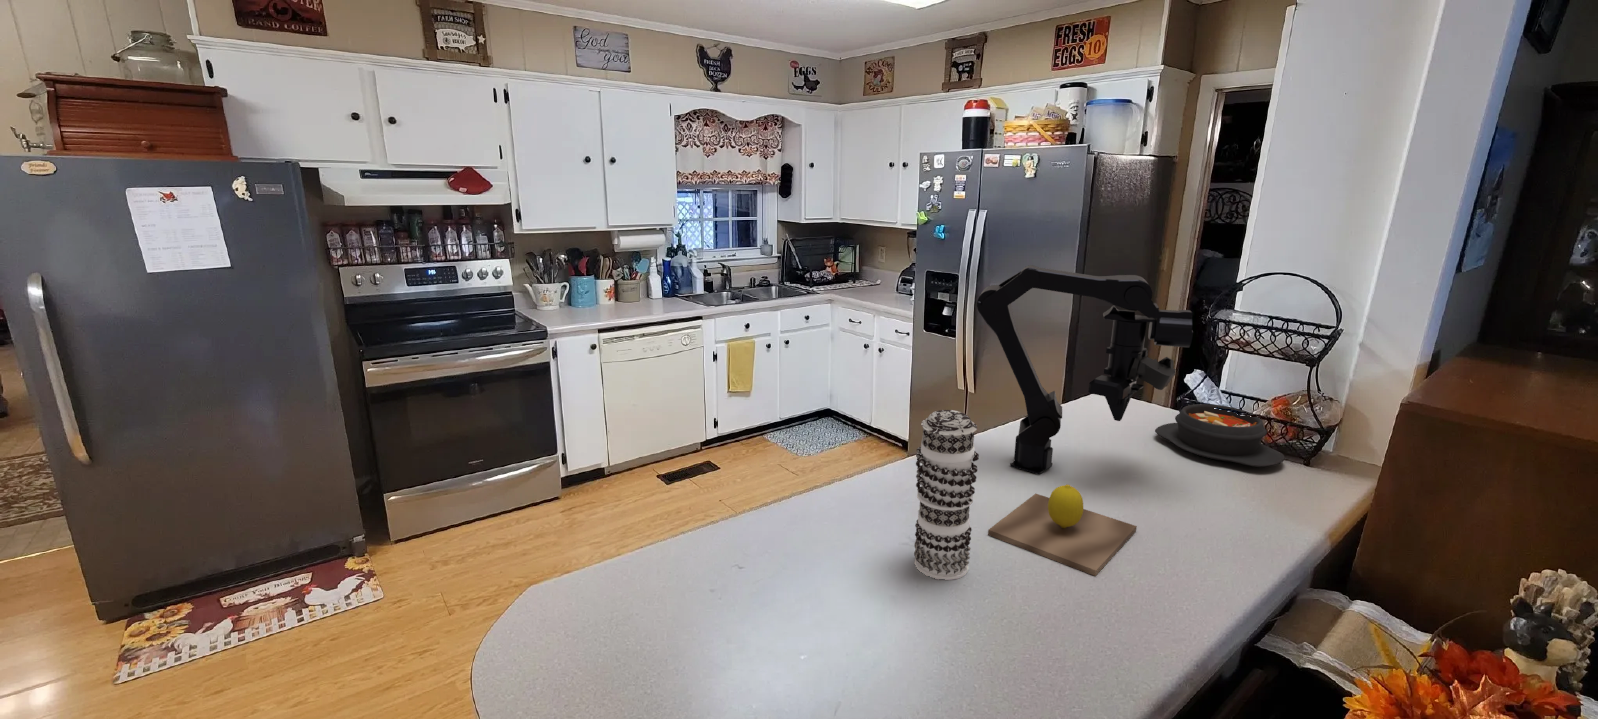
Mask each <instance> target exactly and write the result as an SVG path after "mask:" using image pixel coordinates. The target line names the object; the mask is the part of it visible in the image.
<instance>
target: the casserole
mask: <svg viewBox="0 0 1598 719" xmlns="http://www.w3.org/2000/svg"><path fill="white" fill-rule="evenodd" d="M1216 407H1218V408H1223V409H1231V410H1237V411H1241V412H1246V413H1248V414H1250V415H1253V414H1254V413H1253V412H1249V411H1246V410H1243V409H1240V408H1235V407H1232V406H1225V405H1220V404H1209V403H1208V404H1207V403H1199V404H1189V405H1186V406H1184V407H1182V409H1180V412H1178V414H1176V415H1175V416H1174V420H1175V422H1170V423H1165V424H1161V425H1159V426H1158V427H1156V428H1155V429H1154V432H1155V434H1156V435H1158V436H1159V437H1162V438H1163V439H1165V440H1168V441H1169V442H1171V443H1172V444H1174V445H1175V446H1176V447H1178V448H1180V449H1182V450H1184V451H1186V452H1189V453H1191V454H1194V455H1196V456H1200V457H1202V458H1206V459H1209V460H1210V459H1211V460H1214V461H1215V460H1216V461H1222V462H1233V463H1237V464H1241V465H1245V466H1248V467H1249V466H1250V467H1257V468H1258V467H1259V468H1263V467H1264V468H1265V467H1272V466H1276V465H1279V464H1281V463H1283V462H1284V461H1285V455H1284V454H1283V453H1282V452H1280V451H1278V450H1277V449H1274V448H1272V447H1270V446H1267V445H1265V444H1264V443H1262V442H1261V441H1262V439H1263V437H1265V436H1267V433H1268V431H1267V429H1266V427H1264V422H1263V420H1262V418H1261V417H1259V416H1258V417H1259V418H1258V417H1250V416H1240V415H1237V414H1236V413H1233V412H1227V411H1226V410H1219V409H1214V408H1216ZM1260 418H1261V419H1260ZM1261 443H1262V444H1261Z"/></svg>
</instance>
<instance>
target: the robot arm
mask: <svg viewBox="0 0 1598 719" xmlns="http://www.w3.org/2000/svg"><path fill="white" fill-rule="evenodd" d="M1032 289H1039V290H1046V291H1051V292H1058V293H1064V294H1070V295H1071V294H1072V295H1077V296H1082V297H1088V298H1089V297H1090V298H1094V299H1098V300H1101V301H1104V302H1105V303H1109V304H1110V305H1112V306H1111V307H1110V308H1108V309H1107V310H1106V311H1104V312H1103V313H1102V315H1103V319H1104V320H1108V321H1112V330H1111V339H1110V346H1107V347H1106V352H1105V354H1108V365H1107V367H1105V368H1104V369H1103V374H1101V375H1100V376H1097V377H1096V378H1094V379H1093V380H1090V382H1089V383H1088V391H1087V392H1088V393H1089V394H1091V395H1096V396H1102V397H1104V398H1105V399H1106V404H1107V405H1108V407H1109V410H1110V412H1111V415H1112V417H1113V420H1114V421H1117V422H1121V421H1122V419H1123V417H1124V414H1125V412H1126V410H1127V408H1128V405H1129V403H1130V401H1131V398H1132V396H1133V395H1134V394H1135V393H1137V392H1138V391H1140V390H1141V389H1143V388H1144V385H1143V384H1140V383H1137V380H1138V379H1140V380H1141V381H1143V382H1145V383H1147V384H1149V385H1151V386H1152V387H1153V388H1154V389H1156V390H1158V391H1163V390H1164V388H1166V387H1168V386H1169V384H1170V382H1171V381H1172V379H1173V377H1174V376H1175V375H1176V368H1174V360H1173V359H1172V358H1170V357H1168V356H1166V357H1164V358H1161V359H1160V360H1158V359H1156V358H1155V359H1153V358H1152V357H1151V358H1150V357H1149V354H1148V353H1149V350H1148V348H1147V347H1145V340H1146V331H1147V324H1148V323H1149V324H1148V325H1149V326H1148V334H1147V335H1148V336H1147V337H1148V340H1153V343H1154V344H1153V345H1154V346H1161V347H1162V346H1163V347H1174V348H1176V347H1178V348H1190V347H1191V344H1192V341H1193V336H1194V331H1193V312H1192V311H1191V310H1190V309H1180V310H1179V309H1178V310H1174V309H1173V310H1172V309H1160V307H1159V305H1158V304H1157V303H1156V302H1153V300H1152V299H1153V290H1152V287H1151V286H1150V284H1149V283H1148V281H1147V280H1146V279H1144V277H1142V276H1140V275H1137V274H1126V275H1125V274H1117V275H1116V274H1115V275H1106V276H1105V275H1104V276H1102V275H1101V276H1100V275H1091V274H1084V273H1078V272H1073V271H1065V270H1058V269H1051V268H1046V267H1039V266H1036V265H1033V264H1032V265H1031V264H1030V265H1027V266H1025V267H1023V268H1022V269H1021V270H1020V271H1018V272H1017V273H1015V274H1014V275H1012V276H1010V277H1008V278H1007V279H1006V280H1003V282H1001V283H1000V284H991V285H988V286H987V287H985V288H984V289H983V290H982V291H981V294H979V296H978V299H977V300H976V308H977V311H978V313H979V314H980V317H982V319H983V320H984V322H985V323H986V324H987V326H988V327H989V328H990V329H991V331H992V332H993V333H994V334H995V335H996V336H997V339H998V341H999V344H1000V346H1001V348H1002V350H1003V353H1004V355H1005V357H1006V359H1007V361H1008V363H1009V366H1010V369H1011V370H1012V373H1013V375H1014V377H1015V379H1016V381H1017V384H1018V386H1019V389H1020V391H1021V393H1022V395H1023V397H1024V403H1025V408H1026V414H1027V415H1026V416H1025V417H1024V418H1022V419H1021V420H1020V423H1019V429H1018V435H1016V436H1015V441H1014V442H1015V444H1014V457H1013V461H1011V462H1010V463H1009V466H1010V467H1013V468H1016V469H1019V470H1023V471H1025V472H1029V473H1033V474H1035V475H1042V473H1044V472H1046V471H1047V470H1049V469H1050V468H1051V467H1052V466H1053V462H1052V461H1053V453H1054V452H1053V450H1054V448H1053V447H1052V439H1051V438H1052V437H1055V436H1056V435H1057V434H1058V433H1059V432H1060V430H1061V426H1062V425H1061V423H1062V422H1061V420H1062V419H1063V406H1062V405H1061V403H1059V401H1058V399H1057V395H1056V391H1055V390H1053V391H1051V392H1047V390H1046V389H1045V388H1044V387H1043V385H1042V382H1041V380H1040V378H1039V376H1038V374H1037V372H1036V370H1035V367H1034V365H1033V363H1032V360H1031V358H1030V355H1029V354H1028V352H1027V349H1026V346H1025V344H1024V342H1023V340H1022V338H1021V335H1020V333H1019V332H1018V328H1017V327H1016V324H1015V323H1016V322H1015V317H1014V311H1013V306H1012V303H1013V302H1015V301H1016V300H1018V299H1019V298H1020V297H1021V296H1023V295H1024V294H1026V293H1027V292H1029V291H1030V290H1032ZM1117 307H1119V308H1120V309H1118V308H1117ZM1136 311H1138V312H1140V313H1141V314H1142V315H1139V314H1136Z"/></svg>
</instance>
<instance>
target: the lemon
mask: <svg viewBox="0 0 1598 719" xmlns="http://www.w3.org/2000/svg"><path fill="white" fill-rule="evenodd" d="M1048 498H1049V502H1048V511H1049V515H1050V517H1051V519H1052V520H1053V521H1054V522H1055V523H1056V524H1058V525H1060V526H1061V527H1062V528H1066V527H1070V526H1073V525H1075V524H1076V523H1078V522H1079V520H1080V519H1081V517H1082V514H1083V509H1084V500H1083V497H1082V494H1081V492H1080V491H1079V490H1078V489H1076V488H1075V487H1073V486H1071V485H1070V484H1064V485H1059V486H1058V487H1056V488H1054V489H1053V490H1052V492H1051V494H1050V496H1049V497H1048Z"/></svg>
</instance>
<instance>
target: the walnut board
mask: <svg viewBox="0 0 1598 719" xmlns="http://www.w3.org/2000/svg"><path fill="white" fill-rule="evenodd" d="M1049 498H1050V497H1049V496H1045V495H1042V494H1038V493H1035V494H1033V495H1032V496H1030V497H1029V498H1028V499H1027V500H1025V501H1024V502H1023V503H1021V504H1019V505H1018V506H1017V507H1016V508H1015V509H1014V510H1012V511H1010V513H1008V514H1007V515H1005V516H1004V517H1003V518H1002V519H1001V520H999V521H998V522H996V523H995V524H994V525H993V526H991V527H990V528H988V530H987V536H990V537H992V538H995V539H997V540H1000V541H1002V542H1005V543H1007V544H1010V545H1013V546H1015V547H1018V548H1020V549H1024V550H1026V551H1028V552H1031V553H1034V554H1036V555H1039V556H1041V557H1045V558H1047V559H1049V560H1053V561H1054V562H1058V563H1060V564H1062V565H1065V566H1067V567H1070V568H1073V569H1075V570H1078V571H1081V572H1083V573H1086V574H1089V575H1091V576H1094V577H1096V576H1097V575H1098V574H1099V573H1100V572H1101V571H1102V569H1103V568H1104V567H1105V566H1107V564H1108V563H1109V562H1110V561H1111V559H1113V558H1114V557H1115V555H1116V554H1117V553H1118V552H1119V551H1120V550H1121V549H1122V547H1123V546H1124V545H1125V544H1127V542H1128V541H1129V540H1130V539H1131V538H1132V537H1133V536H1134V534H1135V533H1136V532H1137V526H1138V525H1135V524H1132V523H1128V522H1126V521H1122V520H1120V519H1116V518H1113V517H1109V516H1106V515H1103V514H1101V513H1098V512H1095V511H1092V510H1088V509H1085V508H1083V514H1082V517H1081V519H1080V520H1079V522H1078V523H1076V524H1075V525H1073V526H1070V527H1066V528H1062V527H1061V526H1060V525H1058V524H1056V523H1055V522H1054V521H1053V520H1052V519H1051V517H1050V515H1049V511H1048V502H1049Z"/></svg>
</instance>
